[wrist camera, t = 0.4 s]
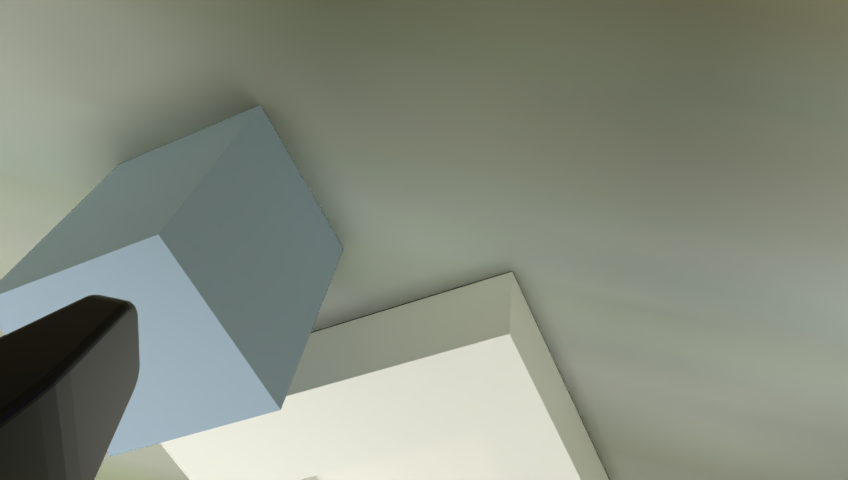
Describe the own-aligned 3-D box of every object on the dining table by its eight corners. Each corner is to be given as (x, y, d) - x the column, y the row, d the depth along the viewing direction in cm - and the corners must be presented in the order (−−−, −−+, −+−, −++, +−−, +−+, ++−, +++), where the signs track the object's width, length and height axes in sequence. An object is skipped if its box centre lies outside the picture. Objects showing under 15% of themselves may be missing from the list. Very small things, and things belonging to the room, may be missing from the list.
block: (343, 248, 24) (280, 409, 18) (208, 294, 25) (110, 456, 20) (260, 104, 22) (158, 234, 16) (119, 163, 23) (-23, 302, 17)
